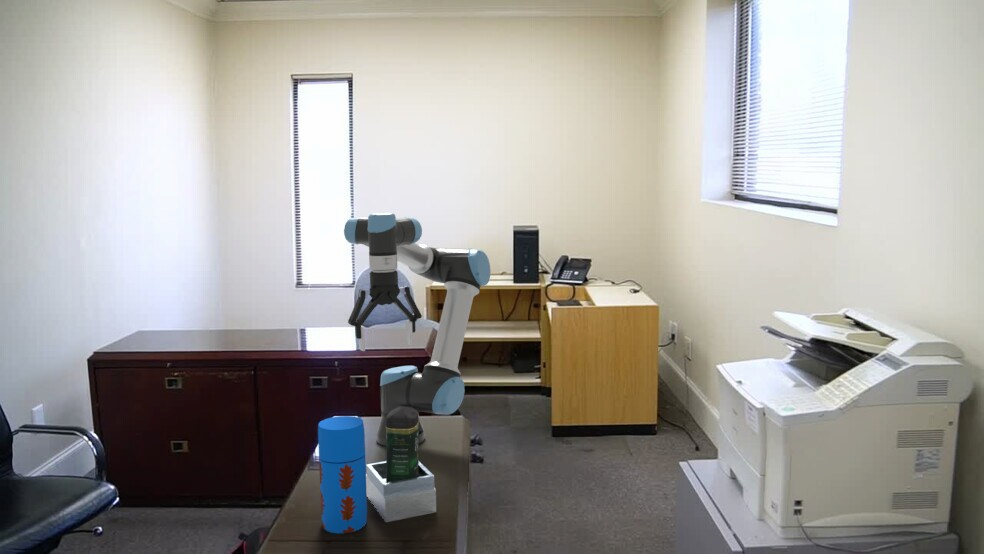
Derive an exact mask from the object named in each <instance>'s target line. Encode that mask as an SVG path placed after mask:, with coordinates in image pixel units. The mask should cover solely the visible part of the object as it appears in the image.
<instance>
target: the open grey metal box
mask: <svg viewBox="0 0 984 554" xmlns="http://www.w3.org/2000/svg"><path fill="white" fill-rule="evenodd" d="M418 462H419V476H418V477H416V478H411V479H405V480H400V481H394V482H389V483H387V482H386V460H385V461H379V462H373V463H368V464H367V463H366V493H367V497H368V498H367V500H368V501H369V500H370V501H371V502H370V501H369V502H370V503H371V505H372V504H373V505H374V506H373V505H372V506H373V507H374V509H375V508H376V509H377V510H376V509H375V510H376V511H377V513H378V512H379V513H378V514H379V515H380V517H381V516H382V517H381V518H382V520H383V519H384V520H383V521H384V522H385V523H389V522H395V521H400V520H405V519H409V518H414V517H418V516H424V515H428V514H429V515H430V514H433V513H437V488H436V487H435V475H434V474H433V473H432V472H431V471H430V470H429V469H428V468H427V467H426V466H424V464H423V463H421V461H419V460H418Z"/></svg>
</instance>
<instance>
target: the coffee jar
mask: <svg viewBox="0 0 984 554" xmlns="http://www.w3.org/2000/svg"><path fill="white" fill-rule="evenodd" d="M418 414H419V411H418V412H417V411H416V410H415V409H414V408H413V407H401V406H398V407H397V408H395V409H393V410H392V411H391V412H390V413H389V414H388V415H387V417H386V446H385V448H386V450H385V453H386V460H385V461H386V482H387V483H389V482H394V481H400V480H405V479H411V478H416V477H418V476H419V462H420V461H419V443H418ZM418 461H419V462H418Z"/></svg>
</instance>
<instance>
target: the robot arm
mask: <svg viewBox="0 0 984 554" xmlns="http://www.w3.org/2000/svg"><path fill="white" fill-rule="evenodd" d="M343 234H344V238H345V241H347V242H348V243H350V244H355V245H364V246H365V247H368V261H369V263H368V265H369V266H368V267H369V268H368V269H369V270H370V272H369V290H366V289H365V290H364V289H361V288H360V289H359V290H358V296H357V297H358V298H357V300H356V302H355V304H354V307H353V309H352V310H351V311H352V312H351V314H350V316H349V318H348V319H347V323H348V324H349V325H350V326H352V327H354V330H355V332H354V334H355V337H356V339H358V340H359V342H358V343H359V346H358V347H359V350H360V351H362V352H365V351H366V340H365V339H366V337H365V336H366V335H365V326H363V324H364V323H365V322H366V320H367V319H368V317H369V316H370V315H371V313H372V312H373V311H374V309H375V308H377V306H378V305H380V306H384V305H392V304H394V305H395V306H396V307H397V308H398V309H399V310H400V311H401V312H402V313H403V315H404V316H405V317H407V319H408V320H405V322H406V325H405V327H406V344H407V345H409V346H414V343H413V342H414V339H413V333H416V322H417V320H419V319H421V318H422V317H423V316H422V314H421V311H420V309H419V307H418V306H417V304H416V302H415V300H414V299H413V297H412V294H411V290H410V289H411V288H410V287H409V286H407V285H403V286H401V287H399V274H398V271H397V269H398V262H399V263H401V264H403V265H405V266H407V267H408V268H409V270H410V271H411V272H413V273H414V274H417V276H418V275H419V276H420V277H423V278H424V279H427V280H429V281H432V282H435V283H439V284H443V286H444V288H445V289H446V291H447V292H446V296H445V299H444V303H443V307H442V313H441V316H440V320H439V325H438V328H437V333H436V337H435V341H434V346H433V349H432V354H431V358H430V361H429V362H428V363H427V364H425V365H424V366H423V370H422V373H421V372H419V370H418V367H417V366H415V365H402V366H397V367H395V366H394V367H391V368H388V369H385V370H383V371H382V373H381V375H380V384H379V386H380V409H381V410H380V411H381V418H380V421H379V424H378V427H377V431H376V442H377V444H379V445H382V446H384V447H386V417H387V415H388V414H389V413H390V412H391V411H392V410H393V409H395V408H397V407H398V406H401V407H413V408H414V409H415V410H416V411H417V412H418V444H420V443H423V442H424V440H425V437H426V436H425V429H424V427H423V423H422V421H421V418H420V415H419V414H420V413H419V412H424V413H431V414H436V415H452V414H453V413H455V412H456V411H457V410H458V409H459V408H460V406H461V404H462V402H463V400H464V396H465V391H466V390H465V386H466V385H465V383H464V380H463V379H462V378H461V376H462V375H461V372H460V370H459V368H458V367H459V361H460V357H461V353H462V349H463V344H464V340H465V335H466V331H467V326H468V322H469V317H470V314H471V309H472V305H473V300H474V297H475V296H478V295H479V294H480V291H481V287H485V286H487V285H488V283H489V282H490V279H491V265H490V264H491V263H490V260H489V257H488V255H487V253H486V252H484V250H482V249H477V248H476V249H475V248H453V247H452V248H448V247H445V248H444V247H431V246H428V245H426V244H418V243H417V242H418V241H419V240H420V239H421V238H422V234H423V229H422V224H421V223H420V222H419V220H417V219H416V218H414V217H406V216H405V217H403V218H401V217H399V218H396V215H395V213H393V212H382V213H381V212H379V213H378V212H377V213H375V212H374V213H371V214H369V215H368V217H360V216H359V217H352V218H349V219H347V221H346V222H345V224H344V229H343ZM399 294H401V295H403V297H404V299H405V300H406V302H407V303H408V306H409V307H410V310H411V312H412V313H413V314H412V313H411V312H410V310H409V309H408V308H407V307H406V306H405V305H404V304H403V303H402V301H401V300H400V299H399V297H398V296H399ZM368 296H370V298H371V299H370V300H369V302H368V304H367V305H366V307H365V308H364V309H363V311H362V312H361V310H362V308H363V306H364V303H365V301H366V299H367V298H368Z"/></svg>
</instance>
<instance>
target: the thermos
mask: <svg viewBox="0 0 984 554" xmlns="http://www.w3.org/2000/svg"><path fill="white" fill-rule="evenodd" d="M317 438H318V440H317V441H318V444H317V445H318V462H319V463H318V466H319V467H318V469H319V484H320V485H319V490H320V514H321V521H322V522H321V524H322V529H323V530H324V531H326V532H329V533H332V534H348V533H353V532H357V531H359V530H361V529H362V527H363V526H364V527H365V526H366V525H365V524H367V523H366V522H367V517H368V503H367V501H368V498H367V493H366V474H367V470H366V465H367V463H366V442H365V441H366V434H365V424H364V420H363V419H362V418H361V417H357V416H353V415H352V416H350V415H346V416H345V415H340V416H332V417H328V418H324V419H323V420H321V421H319V422H318V425H317ZM364 527H363V528H364ZM356 530H357V531H356Z"/></svg>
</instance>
